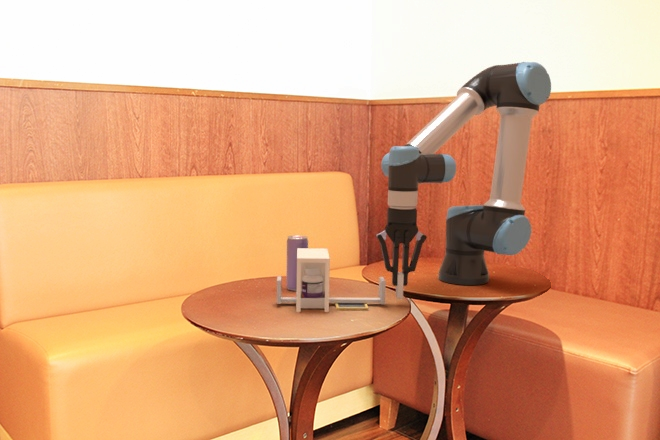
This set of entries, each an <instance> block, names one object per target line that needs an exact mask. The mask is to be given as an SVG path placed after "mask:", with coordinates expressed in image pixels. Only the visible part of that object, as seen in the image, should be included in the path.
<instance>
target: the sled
mask: <svg viewBox="0 0 660 440" xmlns="http://www.w3.org/2000/svg"><path fill="white" fill-rule="evenodd" d="M386 283H387V282H386V279H385V278H384V276H379V277H378V297H330V296H329V304H330V303H334V304H335V303H367V304H368V303H370V304H372V303H377V304H380V305H386ZM295 292H296V293H295V295H296V296H293V297H291V296H289V297H286V296H285V297H284V296H283V297H282V276H281V275H279V276H278V275H277V277H276V304H277V305H281V304H282V303H295V304H296V303H297V291H295ZM301 309H325V291H323V298H302V291H301Z"/></svg>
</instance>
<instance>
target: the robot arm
mask: <svg viewBox="0 0 660 440" xmlns="http://www.w3.org/2000/svg"><path fill="white" fill-rule="evenodd" d="M456 92H457V93H456V97H454V99H453V100H451V101H450V102H448V103H449V104H447V105H446V106H445V107H444V108H442V110H440V112H438V113H437V114H436V115H435V116H434V117H433V118H432V119H431V120H430V121H429V122H428V123H426V125H424V126H423V128H422V129H421V130H419V131H418V132H417V133H416V134H415V135H414V136H413V137H412V138H411V139H410V140H409V141H408V142H406V144H404V146H402V145H400V146H399V145H394V146H391V147H390V149H389V152H388V153H386V154H385V155H384V156H383V157H382V160H381V164H380V165H381V166H380V167H381V168H380V169H381V171H382V174H383V175H384V176H385V177H386V178H388V179H387V180H388V181H387V182H388V183H387V187H388V188H387V206H389V207H388V208H387V213H386V225H385V228H384V230H383V231H381V232H380V233H376V235H375V236H376V239H377V240H378V242H379V243H380V244H379V245H380V248H381V253H382V258H383V264H384V268H385V270H386V271H387V272H390V273H391V284H392V286H395V298H396V300H403V299H404V287H407V286H408V283H409V281H408V278H409V273H411V272H415V271H416V268H417V264H418V262H419V258H420V254H421V250H422V247H423V244H424V243H425V241H426V240H427V238H428V237H427V235H426V234H424V233H422V232H420V230H419V228H418V227H419V226H417V222H418V221H417V220H418V218H417V217H418V209H417V208H416V207H417V206H418V194H419V193H418V192H419V191H418V190H419V184H442V183H449V182H451V181H452V180H453V179H454V178H455V176H456V172H457V164H456V160H455V159H454V158H453V156H451V155H450V154H443V153H437V152H438V151H439V149H441V148H442V147H443V146H444V145H445V144H446V143H447V142H449V140H450V139H451V138H452V137H453V136H454V135H456V133H458V132H459V130H461V129H462V127H464V126H465V125H466V124H467V123H468V122H469V121H470V120H471V119H472V118H473V117H475V116H479V115H481V114H482V113H483V112H484V111H485V110H487V109H490V108H492V107H495V106H496V108H495V109H496V111H497V112H498V114H499V116H500V120H499V127H498V135H497V141H496V142H497V143H496V148H495V149H496V150H495V158H494V166H493V172H492V178H491V179H492V180H491V187H490V196H489V198H488V200H486V202H485V203H484V204H477V205H475V204H474V205H473V204H472V205H455V206H450V207H449V208H448V209H447V213H446V219H445V226H446V227H445V251H444V253H445V254H444V257H443V260H442V262H441V265H440V268H439V271H438V280H439V281H442V282H444V283H448V284H452V285H453V284H454V285H461V286H462V285H463V286H476V285H477V286H478V285H485V284H488V283H489V282H490V281H489V280H490V274H489V269H488V266H487V262H486V258H485V251H486V252H489V253H495V254H497V255H501V256H502V255H506V256H515V255H517V254H519V253H520V252H522V251H523V250H524V249H525V248H526V247H527V245H528V244H529V242H530V239H531V236H532V225H531V221H530V220H529V218H528V217H526V216H525V214H526V213H525V212H526V208H525V207H524V205H522V203H521V202H522V194H523V187H524V182H525V181H524V179H525V174H526V173H525V172H526V166H527V158H528V150H529V144H530V138H531V137H530V136H531V130H532V123H533V121H532V120H533V118H535V117H536V116H537V115H538V114H539V111H540V105H543V104H544V103H547V101H548V99H549V98H550V96H551V93H552V82H551V78H550V75H549V73H548V71H547V69H546V68H545V67H544V65H542V64H541V63H538V62H534V61H531V62H530V61H521V62H517V63H516V62H515V63H509V64H498V65H497V64H496V65H492V66H490V67H488V68H485V69H483V70H482V71H480V72H479V73H477V74H476V75H475V76H473V77H472V78H470V79H469V80H468V81H467V82H466V83H465V84H463V85H462V86H461V87H460V88H459V89H458V90H457V91H456ZM387 237H388V238H389V239H390V241H391V242H392V262H391V260H390V256H389V251H388V247H387V243H386V240H387ZM414 238H415V239H416V241H415V244H414V248H413V252H412V255H411V259H410V243H411V242H412V241H413V239H414ZM400 244H402V261H401V262H402V263H401V271H399V259H400V257H399V256H400ZM409 259H410V260H409ZM409 261H410V262H409ZM391 263H392V264H391ZM391 265H392V266H391ZM487 282H488V283H487Z"/></svg>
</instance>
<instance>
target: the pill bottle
mask: <svg viewBox="0 0 660 440" xmlns="http://www.w3.org/2000/svg"><path fill="white" fill-rule="evenodd" d="M305 274H306V275H305V276H303V278H302V298H323V278H322V276H320V275H319V274H320V267H315V266H310V267H305Z"/></svg>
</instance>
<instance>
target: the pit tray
mask: <svg viewBox="0 0 660 440" xmlns="http://www.w3.org/2000/svg"><path fill="white" fill-rule="evenodd" d="M334 304H335V310H336V311H369V306H368V303H334Z"/></svg>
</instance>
